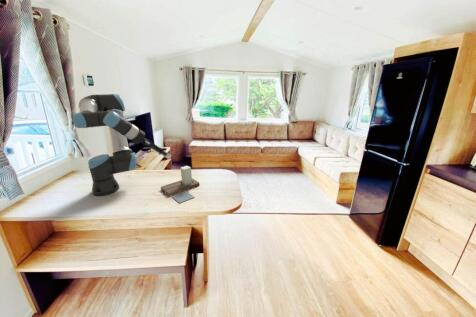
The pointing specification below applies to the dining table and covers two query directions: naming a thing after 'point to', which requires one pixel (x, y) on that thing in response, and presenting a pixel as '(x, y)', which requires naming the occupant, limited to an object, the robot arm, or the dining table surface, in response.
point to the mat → (183, 197)
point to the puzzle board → (178, 187)
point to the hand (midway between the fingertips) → (165, 154)
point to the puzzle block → (186, 175)
